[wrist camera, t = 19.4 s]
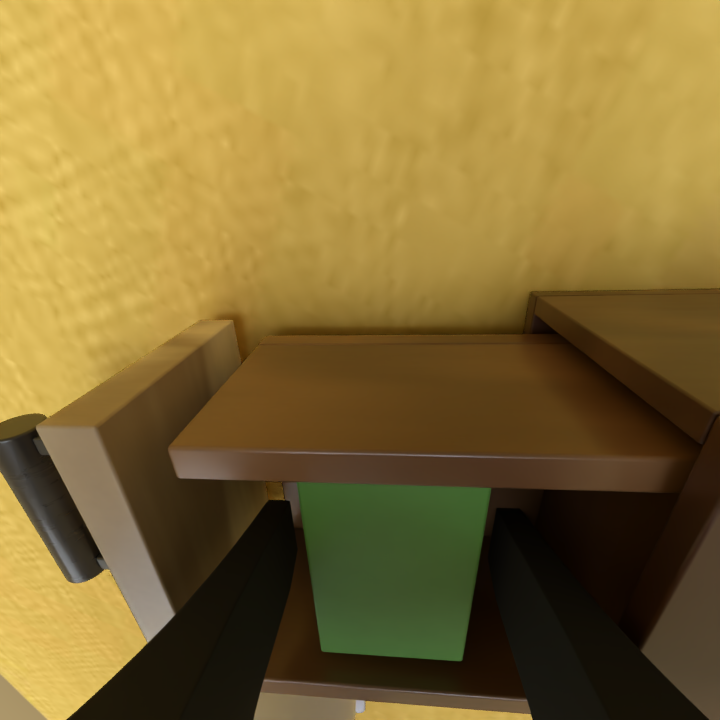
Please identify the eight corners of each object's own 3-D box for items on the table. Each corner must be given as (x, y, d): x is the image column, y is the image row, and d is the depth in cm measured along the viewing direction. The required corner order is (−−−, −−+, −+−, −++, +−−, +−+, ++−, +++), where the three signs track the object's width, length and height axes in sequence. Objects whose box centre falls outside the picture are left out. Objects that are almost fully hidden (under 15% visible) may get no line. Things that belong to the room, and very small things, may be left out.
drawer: (148, 522, 16) (26, 686, 11) (66, 320, 12) (-203, 421, 7) (536, 538, 15) (623, 736, 9) (594, 315, 11) (815, 439, 5)
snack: (339, 520, 14) (319, 653, 10) (327, 378, 11) (293, 480, 7) (441, 524, 14) (464, 663, 10) (454, 378, 11) (494, 486, 7)
